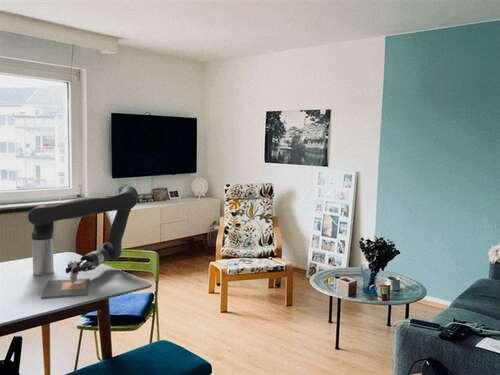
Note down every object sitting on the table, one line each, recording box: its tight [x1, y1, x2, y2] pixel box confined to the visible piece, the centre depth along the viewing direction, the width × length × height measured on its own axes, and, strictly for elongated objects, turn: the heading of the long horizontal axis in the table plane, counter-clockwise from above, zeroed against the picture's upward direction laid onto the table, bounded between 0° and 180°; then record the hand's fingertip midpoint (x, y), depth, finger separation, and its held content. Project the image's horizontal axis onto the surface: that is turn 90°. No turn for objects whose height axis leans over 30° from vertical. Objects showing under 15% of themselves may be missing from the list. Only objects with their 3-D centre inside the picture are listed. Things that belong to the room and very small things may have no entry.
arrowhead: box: [69, 260, 79, 283], centre depth 201 cm, size 8×3×10 cm, turn 178°
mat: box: [40, 277, 90, 300], centre depth 200 cm, size 21×18×1 cm
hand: (70, 271), depth 198 cm, fingers closed on arrowhead, 2 cm apart
